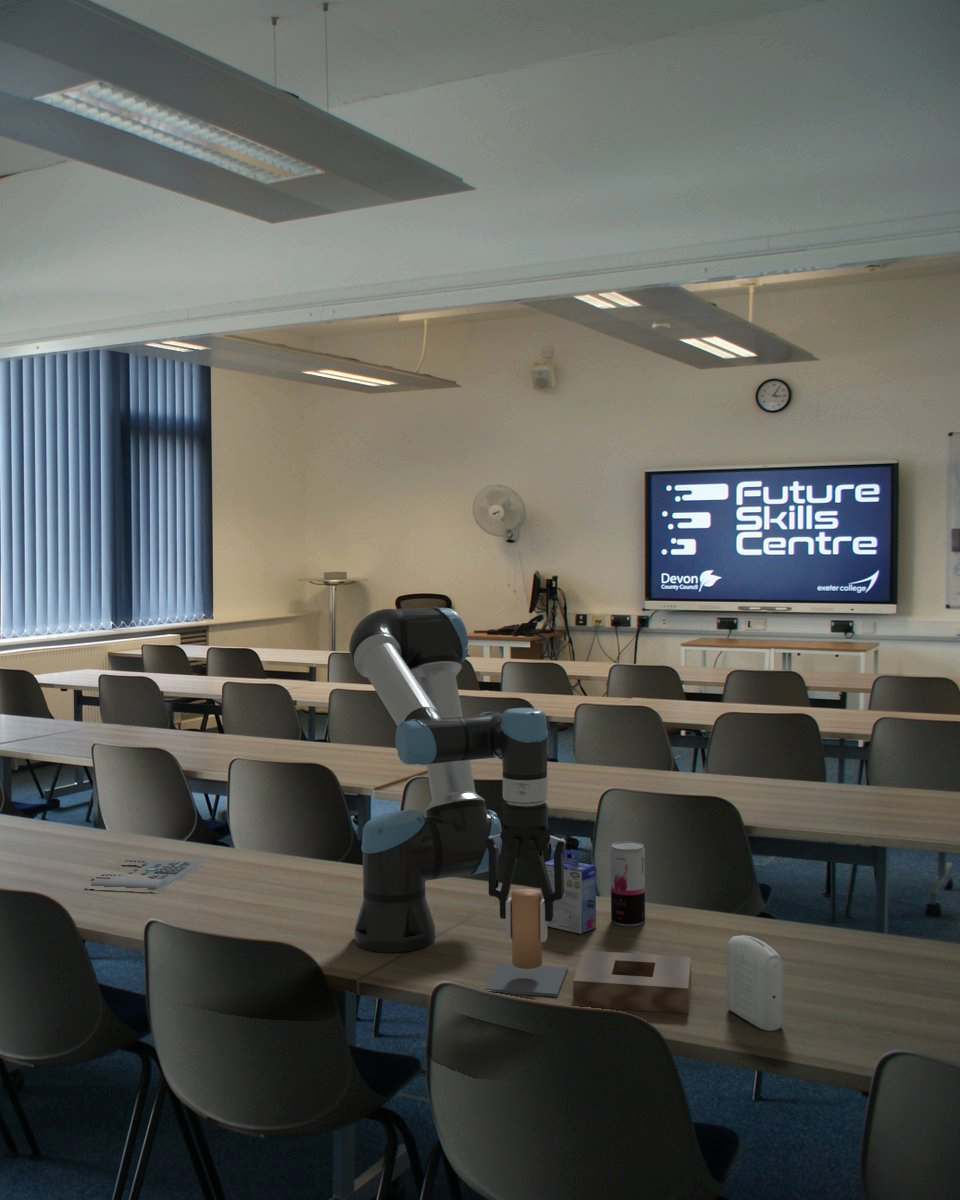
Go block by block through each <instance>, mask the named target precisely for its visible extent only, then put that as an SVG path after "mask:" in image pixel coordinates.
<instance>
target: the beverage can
mask: <svg viewBox="0 0 960 1200" xmlns="http://www.w3.org/2000/svg"><path fill="white" fill-rule="evenodd" d="M645 860H646V858H645V848H644V844H643V843H642V842H641V843H640V842H635V841H628V840H627V841H618V842H614V843H612V844H611V847H610V908H611V911H610V914H611V917H610V919H611V921H612V922H613V923H614V924H616V925H617V926H620V927H621V926H622V927H636V926H640V925H642V924H644V922H645V921H646V883H645V881H646V877H645V876H646V873H645V871H646V870H645V868H646V866H645V865H646V863H645V862H646V861H645Z"/></svg>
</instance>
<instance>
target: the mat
mask: <svg viewBox="0 0 960 1200" xmlns="http://www.w3.org/2000/svg"><path fill="white" fill-rule="evenodd" d="M568 969H569V968H568V966H567V967H566V966H565V967H564V966H552V965H551V966H550V965H549V966H548V965H541V966H539V967H537V968H532V969H522V968H517V967H515V966H513V964H512V963H505V962H504V963H503V962H499V963H498V964H497V967H496V969H495V970H494V972H493V974H492V976H491V978H490V979H489V981H488V983H487V984H486V987H485V989H486V990H492V991H495V992H494V993H496V992H503V993H502V994H511V995H513V994H514V995H524V996H526V995H529V996H539V997H540V996H541V997H553V998H554V997H556V998H558V996H559V995H560V991H561V989H562V986H563V985H564V981H565V979H566V976H567V973H568V971H569V970H568ZM485 989H484V990H485Z"/></svg>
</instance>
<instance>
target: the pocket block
mask: <svg viewBox="0 0 960 1200" xmlns="http://www.w3.org/2000/svg"><path fill="white" fill-rule="evenodd" d="M572 983H573V984H572V988H573V989H572V993H573V994H572V995H573V999H572V1000H573V1001H572V1004H573V1006H575V1005H580V1007H589V1006H592V1007H593V1008H603V1009H604V1008H606V1009H621V1010H633V1011H646V1012H647V1011H648V1012H658V1013H659V1012H660V1013H675V1014H678V1013H679V1014H686V1015H688V1014H689V1011H690V999H691V998H690V997H691V987H692V957H691V956H679V955H667V954H666V955H664V954H646V953H634V952H633V953H632V952H629V953H628V952H616V951H615V952H614V951H598V950H583V952H582V955H581V958H580V961H579V964H578V966H577V969H576V971H575V975H574V977H573V980H572ZM592 1007H591V1008H592Z"/></svg>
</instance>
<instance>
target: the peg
mask: <svg viewBox="0 0 960 1200" xmlns="http://www.w3.org/2000/svg"><path fill="white" fill-rule="evenodd" d="M510 894H511V896H510V897H511V902H512V939H511V956H512V957H511V958H512V960H511V961H512V962H511V964H513V966H515V967H517V968H522V969H532V968H537V967H539V966H543V942H540V903H541V890H538V889H533V888H518V889H514V890H512V892H510Z"/></svg>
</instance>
